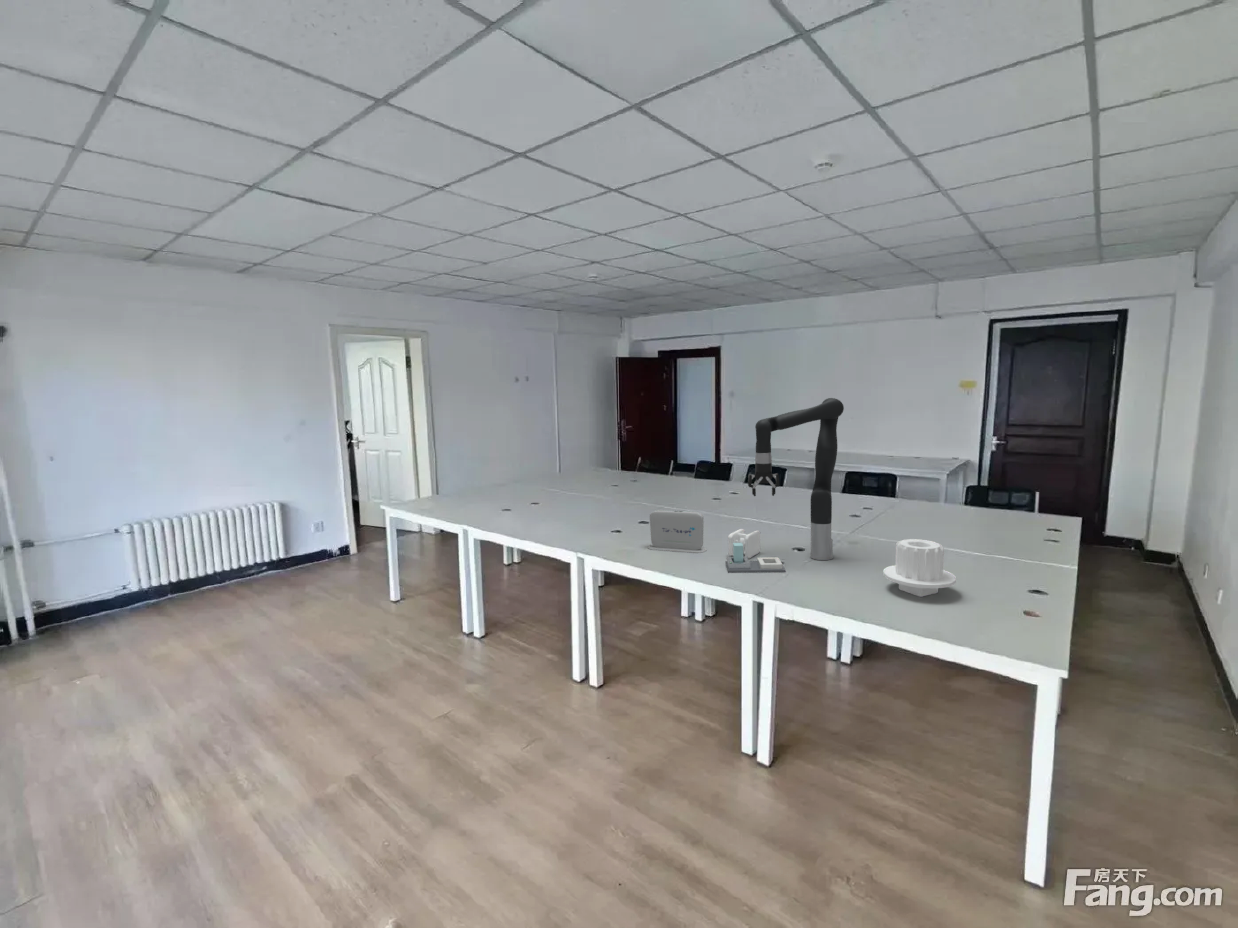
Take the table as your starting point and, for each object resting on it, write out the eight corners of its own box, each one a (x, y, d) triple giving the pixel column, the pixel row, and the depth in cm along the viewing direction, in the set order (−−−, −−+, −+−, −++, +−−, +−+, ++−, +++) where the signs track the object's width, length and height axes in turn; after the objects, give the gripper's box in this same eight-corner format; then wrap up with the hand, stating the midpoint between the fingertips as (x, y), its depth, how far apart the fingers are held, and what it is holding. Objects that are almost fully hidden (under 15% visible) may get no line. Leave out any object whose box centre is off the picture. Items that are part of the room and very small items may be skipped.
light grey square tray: (778, 561, 262) (778, 557, 262) (782, 568, 252) (782, 564, 252) (757, 561, 263) (757, 557, 263) (760, 568, 253) (760, 564, 253)
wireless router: (645, 549, 295) (643, 511, 292) (651, 544, 304) (650, 508, 302) (704, 553, 283) (703, 514, 281) (708, 548, 292) (707, 510, 290)
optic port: (747, 561, 264) (747, 555, 263) (750, 568, 253) (750, 562, 253) (726, 562, 265) (726, 556, 264) (728, 569, 254) (728, 562, 254)
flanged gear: (924, 607, 205) (925, 556, 203) (868, 586, 228) (869, 541, 226) (970, 595, 215) (972, 546, 213) (913, 576, 238) (914, 532, 235)
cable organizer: (747, 560, 269) (747, 536, 268) (727, 557, 276) (727, 534, 274) (760, 552, 281) (760, 529, 279) (741, 549, 287) (741, 527, 286)
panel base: (779, 562, 264) (779, 560, 264) (785, 572, 250) (785, 569, 250) (725, 563, 267) (725, 560, 266) (728, 572, 253) (728, 570, 253)
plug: (742, 563, 261) (741, 542, 260) (743, 567, 256) (743, 545, 255) (733, 563, 262) (733, 542, 260) (734, 567, 257) (734, 545, 255)
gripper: (777, 460, 271) (777, 494, 273) (747, 461, 272) (747, 494, 274) (780, 462, 263) (780, 496, 265) (749, 463, 265) (749, 497, 267)
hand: (763, 495), depth 270 cm, fingers open, 8 cm apart
